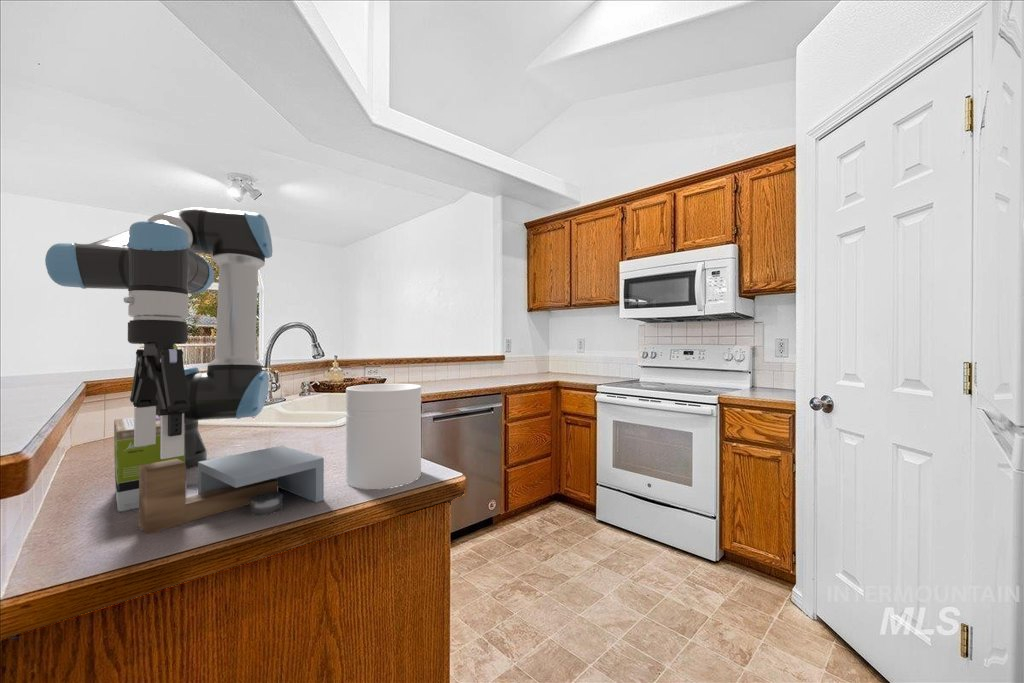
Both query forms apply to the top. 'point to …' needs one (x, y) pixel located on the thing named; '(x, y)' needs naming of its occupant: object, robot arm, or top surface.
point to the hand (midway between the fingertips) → (157, 451)
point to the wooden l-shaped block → (167, 496)
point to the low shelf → (265, 471)
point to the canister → (383, 435)
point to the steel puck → (265, 503)
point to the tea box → (134, 461)
